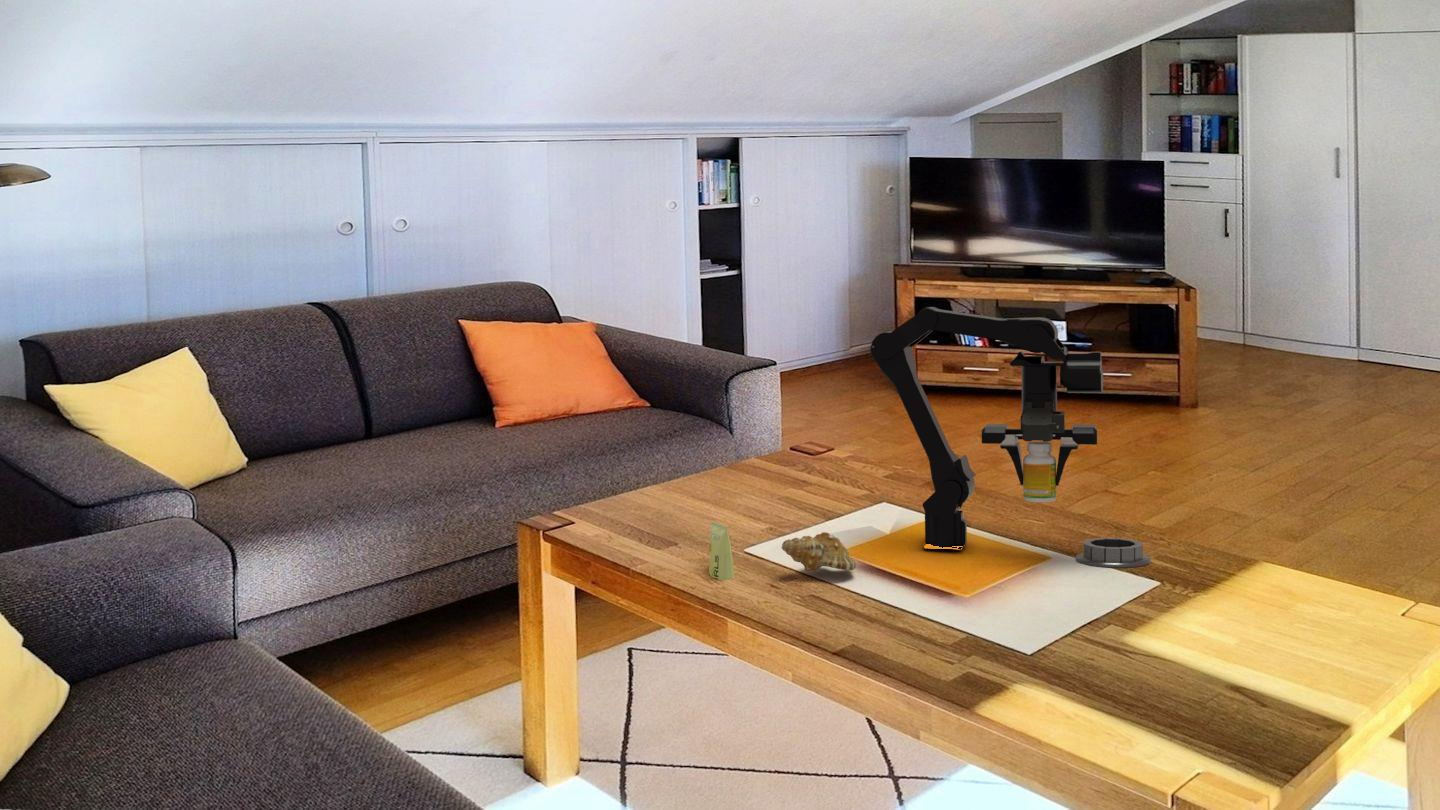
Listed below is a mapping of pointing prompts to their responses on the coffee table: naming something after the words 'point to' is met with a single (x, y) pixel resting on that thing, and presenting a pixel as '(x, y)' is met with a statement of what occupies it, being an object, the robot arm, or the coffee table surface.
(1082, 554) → the collar stand
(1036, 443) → the supplement bottle
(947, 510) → the robot arm
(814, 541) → the seashell
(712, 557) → the tube
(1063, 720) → the coffee table surface
